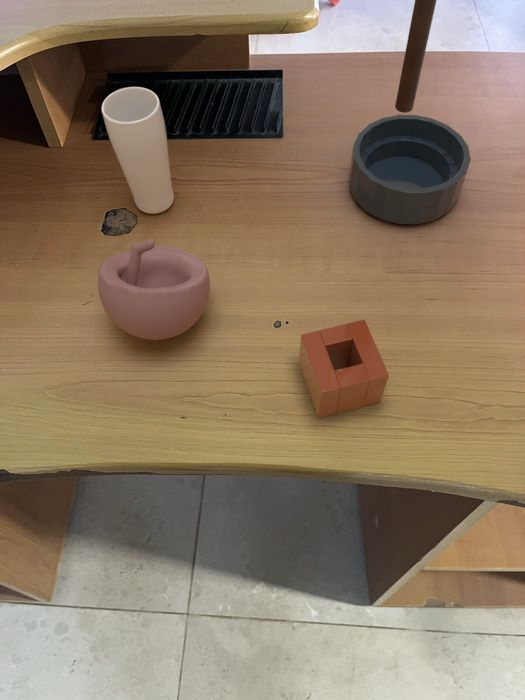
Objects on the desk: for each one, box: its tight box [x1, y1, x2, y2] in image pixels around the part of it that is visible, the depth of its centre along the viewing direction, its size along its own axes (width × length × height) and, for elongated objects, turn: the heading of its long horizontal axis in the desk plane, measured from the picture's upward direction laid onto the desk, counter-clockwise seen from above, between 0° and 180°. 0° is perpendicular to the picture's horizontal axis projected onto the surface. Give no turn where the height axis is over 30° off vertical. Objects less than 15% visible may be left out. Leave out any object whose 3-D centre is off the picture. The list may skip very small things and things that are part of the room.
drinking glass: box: [101, 86, 175, 215], centre depth 71 cm, size 7×7×15 cm
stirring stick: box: [394, 0, 437, 114], centre depth 49 cm, size 2×2×20 cm
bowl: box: [348, 114, 472, 225], centre depth 75 cm, size 15×15×6 cm
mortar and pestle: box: [97, 238, 211, 341], centre depth 63 cm, size 12×12×12 cm
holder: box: [298, 318, 390, 419], centre depth 60 cm, size 7×7×6 cm
